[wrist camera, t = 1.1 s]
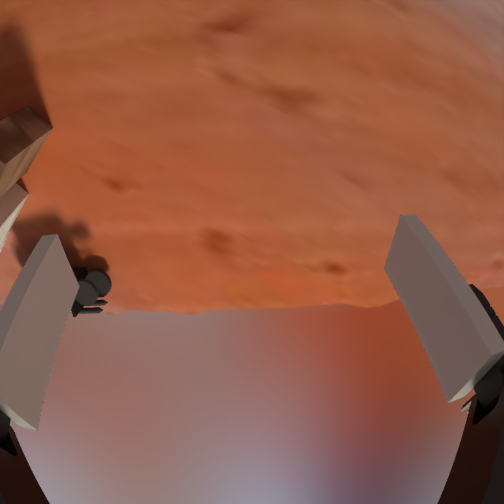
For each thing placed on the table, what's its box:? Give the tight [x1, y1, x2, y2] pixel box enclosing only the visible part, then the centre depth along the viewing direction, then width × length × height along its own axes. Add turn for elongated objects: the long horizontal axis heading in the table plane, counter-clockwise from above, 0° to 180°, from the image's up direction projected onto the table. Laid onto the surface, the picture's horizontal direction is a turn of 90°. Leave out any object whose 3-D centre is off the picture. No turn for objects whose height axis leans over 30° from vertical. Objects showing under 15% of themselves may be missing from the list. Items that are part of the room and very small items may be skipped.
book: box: [0, 106, 53, 198], centre depth 24 cm, size 4×7×10 cm, turn 131°
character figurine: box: [71, 267, 112, 317], centre depth 38 cm, size 8×7×15 cm
